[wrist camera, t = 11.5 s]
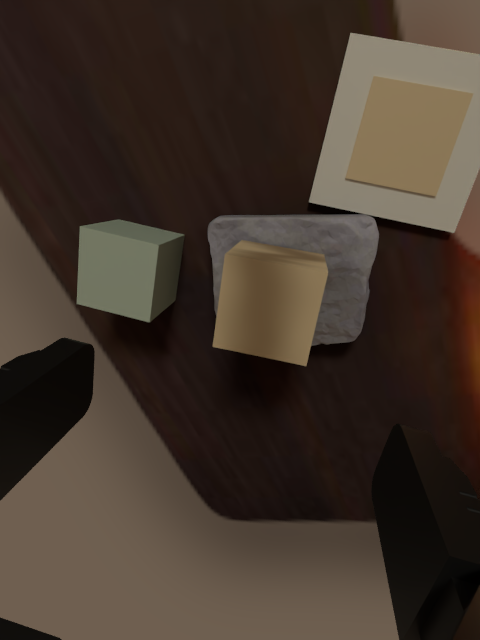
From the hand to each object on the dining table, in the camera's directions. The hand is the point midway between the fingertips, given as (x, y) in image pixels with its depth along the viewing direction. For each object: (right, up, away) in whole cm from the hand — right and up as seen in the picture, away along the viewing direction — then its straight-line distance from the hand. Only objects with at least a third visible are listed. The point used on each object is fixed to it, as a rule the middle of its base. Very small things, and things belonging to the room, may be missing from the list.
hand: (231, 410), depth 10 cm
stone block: (+4, +6, +20) cm, 21 cm away
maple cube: (+3, +5, +16) cm, 17 cm away
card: (+11, +14, +15) cm, 23 cm away
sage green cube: (-7, +7, +21) cm, 23 cm away
